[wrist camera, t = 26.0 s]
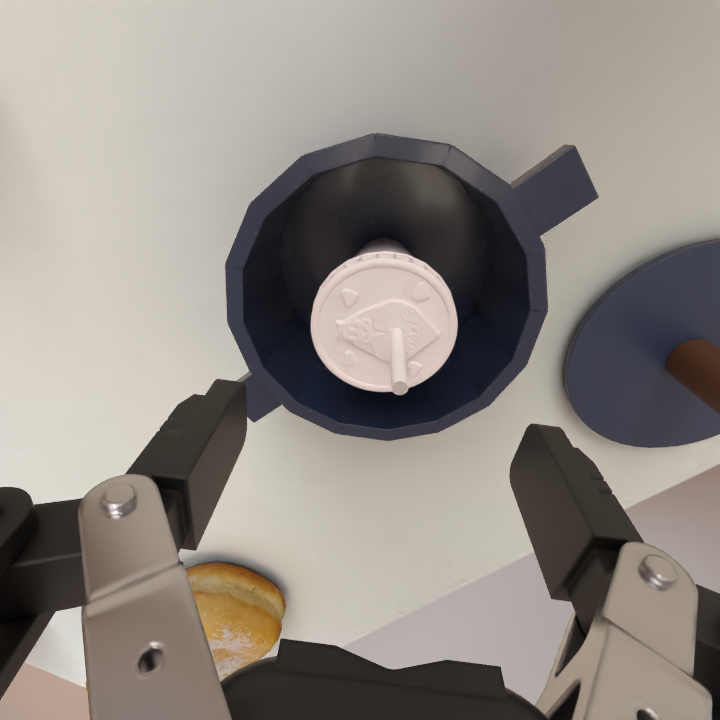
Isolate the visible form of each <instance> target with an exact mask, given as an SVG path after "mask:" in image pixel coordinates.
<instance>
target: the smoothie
mask: <svg viewBox="0 0 720 720" xmlns="http://www.w3.org/2000/svg"><path fill="white" fill-rule="evenodd" d="M457 328H458V320H457V313H456V308H455V305H454V301H453V298H452V295H451V291H450V290H449V288H448V287H447V285H446V284H445V282H444V280H443V279H442V277H441V276H440V275H439V274H438V273H437V272H436V271H434V270H433V269H432V268H431V267H430V266H429V265H427V264H426V263H425V262H423V261H421V260H419V259H416V258H414V257H413V256H412V254H411V253H410V252H409V251H408V250H407V249H406V248H405V247H404V246H403V245H402V244H401V243H399V242H398V241H396V240H393V239H389V238H379V239H375V240H372V241H370V242H368V243H367V244H366V245H364V246H363V247H362V248H361V250H360V251H359V252H358V253H357V254H356V255H355V257H354V258H352V259H349V260H347V261H346V262H344V263H343V264H342V265H340V266H339V267H337V268H336V269H335V270H333V271H332V272H331V273H330V275H329V276H328V277H327V278H326V280H325V281H324V282H323V283H322V285H321V286H320V288H319V291H318V293H317V296H316V298H315V300H314V303H313V310H312V315H311V336H312V340H313V344H314V347H315V349H316V351H317V354H318V355H319V357H320V359H321V360H322V362H323V363H324V364H325V366H326V367H327V368H328V369H329V370H330V371H331V372H332V373H333V374H334V375H336V376H337V377H338V378H340V379H341V380H343V381H344V382H346V383H348V384H350V385H352V386H355V387H358V388H360V389H364V390H369V391H376V392H392V391H393V393H395V394H397V395H403V394H405V393H406V392H407V391H408V388H410V387H413V386H415V385H417V384H419V383H421V382H423V381H425V380H426V379H428V378H429V377H431V376H432V375H433V374H434V373H436V372H437V371H438V370H439V369H440V368H441V366H442V365H443V364H444V363H445V361H446V360H447V359H448V357H449V355H450V353H451V351H452V349H453V347H454V344H455V341H456V336H457Z"/></svg>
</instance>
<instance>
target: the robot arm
mask: <svg viewBox="0 0 720 720" xmlns="http://www.w3.org/2000/svg"><path fill="white" fill-rule="evenodd" d="M246 431H247V399H246V385H245V383H243V382H236V381H229V380H221V379H217V380H215V382H214V383H213V384H212V386H211V387H210V389H209V390H208V392H207V393H206V395H205V396H204V395H197V394H194V395H192V396H191V397H189V398H188V399H186V400H184V401H183V402H181V403H180V404H178V405H177V407H176V408H175V409H174V411H173V412H172V413H171V415H170V416H169V417H168V420H166V421H165V422H164V424H163V425H162V426H161V428H160V431H159V432H157V433H156V434H155V436H154V437H153V438H152V440H151V441H150V442H149V443H148V445H147V446H146V447H145V449H144V450H143V451H142V453H141V454H140V455H139V457H138V458H137V459H136V461H135V462H134V463H133V464H132V466H131V467H130V468H129V470H128V471H127V472H126V474H125V475H120V476H116V477H113V478H110V479H108V480H106V481H104V482H102V483H100V484H98V485H97V486H95V487H94V488H93V489H91V490H90V491H89V492H88V493H87V494H86V495H85V496H84V498H81V499H75V500H68V501H60V502H52V503H44V504H36V505H34V504H33V502H32V500H31V497H30V495H29V494H28V493H27V492H26V491H24V490H22V489H19V488H14V487H0V700H1V698H2V696H3V695H4V693H5V691H6V690H7V688H8V687H9V685H10V683H11V682H12V680H13V679H14V677H15V676H16V674H17V672H18V671H19V669H20V667H21V666H22V664H23V663H24V661H25V660H26V658H27V656H28V655H29V653H30V652H31V650H32V648H33V647H34V645H35V644H36V642H37V640H38V639H39V637H40V636H41V634H42V632H43V631H44V629H45V628H46V626H47V624H48V623H49V621H50V620H51V618H52V616H53V615H54V613H55V612H56V611H59V610H64V609H69V608H74V607H79V606H82V612H81V616H82V631H83V643H84V655H85V666H86V678H87V690H88V700H89V713H90V720H720V594H719V593H717V592H714V591H712V590H709V589H707V588H704V587H702V586H699V585H697V584H695V583H694V581H693V579H692V578H691V576H690V575H689V573H688V572H687V571H686V570H685V569H684V568H683V567H682V566H681V565H680V564H679V563H678V562H677V561H676V560H675V559H673V558H672V557H671V556H670V555H668V554H667V553H665V552H664V551H662V550H660V549H658V548H656V547H654V546H652V545H649V544H646V543H644V541H643V540H642V538H641V537H640V535H639V533H638V532H637V530H636V529H635V527H634V525H633V524H632V522H631V521H630V519H629V517H628V516H627V514H626V513H625V511H624V510H623V508H622V506H621V505H620V503H619V502H618V500H617V498H616V497H615V495H612V491H611V489H610V487H609V486H608V484H607V483H606V481H604V480H603V479H604V478H603V476H602V475H601V473H600V472H599V470H598V468H597V467H596V465H595V464H594V462H593V461H592V460H590V459H589V458H588V457H587V456H586V455H585V454H584V453H583V452H582V451H581V450H579V449H578V448H574V447H573V446H572V445H571V443H570V441H569V439H568V438H567V436H566V434H565V433H564V431H563V430H562V429H561V428H560V427H554V426H547V425H540V424H530V425H529V426H528V427H527V429H526V431H525V433H524V436H523V438H522V440H521V442H520V445H519V447H518V449H517V452H516V454H515V456H514V458H513V461H512V463H511V467H510V483H511V487H512V490H513V492H514V495H515V498H516V501H517V504H518V507H519V509H520V512H521V515H522V518H523V521H524V523H525V526H526V529H527V532H528V535H529V537H530V540H531V543H532V546H533V549H534V551H535V554H536V557H537V560H538V563H539V565H540V568H541V571H542V573H543V577H544V579H545V582H546V585H547V588H548V591H549V593H550V596H551V599H556V600H564V601H571V602H572V605H573V607H574V610H575V612H574V613H573V614H572V616H571V617H570V619H569V622H568V625H567V627H566V630H565V633H564V636H563V639H562V642H561V644H560V647H559V650H558V653H557V655H556V658H555V661H554V664H553V667H552V669H551V672H550V675H549V678H548V681H547V683H546V685H545V688H544V690H543V692H542V694H541V696H540V698H539V700H538V701H537V703H536V705H535V706H534V705H532V704H531V703H530V702H529V701H527V700H526V699H524V698H523V697H522V696H520V695H518V694H516V693H515V692H513V691H511V690H510V689H508V688H505V686H504V681H503V676H502V672H501V667H498V666H490V665H483V664H475V663H466V662H459V661H452V660H444V661H438V662H433V663H428V664H423V665H417V666H412V667H408V668H402V669H396V670H392V669H387V668H385V667H382V666H380V665H378V664H376V663H373V662H371V661H369V660H366V659H364V658H362V657H360V656H357V655H355V654H353V653H351V652H348V651H346V650H344V649H342V648H340V647H337V646H335V645H327V644H319V643H312V642H304V641H296V640H288V639H281V640H280V644H279V649H278V654H277V656H274V657H269V658H265V659H262V660H259V661H256V662H253V663H250V664H248V665H246V666H244V667H242V668H240V669H238V670H236V671H235V672H233V673H232V674H230V675H228V676H227V677H225V678H224V679H223V680H221V681H220V680H219V676H218V673H217V670H216V667H215V663H214V660H213V657H212V654H211V650H210V647H209V644H208V640H207V637H206V634H205V631H204V627H203V624H202V621H201V618H200V614H199V611H198V608H197V605H196V601H195V598H194V595H193V592H192V588H191V585H190V582H189V579H188V575H187V572H186V569H185V567H184V564H183V562H180V559H179V556H178V553H179V551H180V549H188V550H195V551H196V549H197V547H198V545H199V542H200V540H201V538H202V536H203V534H204V531H205V529H206V527H207V525H208V523H209V520H210V518H211V516H212V514H213V512H214V509H215V507H216V505H217V503H218V501H219V498H220V496H221V494H222V492H223V490H224V487H225V485H226V483H227V481H228V478H229V476H230V474H231V472H232V470H233V467H234V465H235V463H236V461H237V459H238V456H239V454H240V452H241V450H242V447H243V445H244V441H245V437H246Z"/></svg>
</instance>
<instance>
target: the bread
mask: <svg viewBox="0 0 720 720" xmlns="http://www.w3.org/2000/svg"><path fill="white" fill-rule="evenodd" d="M186 572H187V575H188V579H189V582H190V585H191V588H192V592H193V595H194V598H195V601H196V605H197V608H198V611H199V614H200V618H201V621H202V624H203V627H204V631H205V634H206V637H207V640H208V644H209V647H210V650H211V654H212V657H213V660H214V663H215V667H216V670H217V673H218V676H219V680H220V681H221V680H223V679H224V678H225V677H227V676H228V675H230V674H232V673H233V672H235V671H236V670H238V669H240V668H242V667H244V666H246V665H248V664H250V663H253V662H256V661H259V660H260V659H261V657H263V656H264V655H265V654H266V653H268V652H269V651H270V650H271V648H272V647H273V646H274V644H275V643H276V642H277V640H278V638H279V636H280V633H281V630H282V622H281V620H282V619H283V617H284V613H285V608H286V604H285V599H284V597H283V594H282V593H281V591H280V589H279V588H278V587H277V586H276V585H275V584H274V583H272V582H271V581H269V580H267V579H266V578H264V577H263V576H261V575H260V574H258V573H257V572H255V571H253V570H250V569H248V568H246V567H244V566H240V565H237V564H233V563H225V562H212V563H205V564H199V565H195V566H193V567H191V568H189V569H186ZM86 690H87V681H86ZM87 691H88V690H87Z"/></svg>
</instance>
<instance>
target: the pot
mask: <svg viewBox="0 0 720 720" xmlns="http://www.w3.org/2000/svg"><path fill="white" fill-rule="evenodd" d="M597 198H598V194H597V192H596V190H595V188H594V186H593V183H592V181H591V179H590V177H589V175H588V173H587V170H586V168H585V166H584V164H583V162H582V160H581V157H580V155H579V153H578V151H577V149H576V146H575V145H563V146H562V147H561V148H559V149H558V150H557V151H555V152H554V153H552V154H551V155H550V156H548V157H547V158H545V159H544V160H543V161H541V162H540V163H538V164H537V165H536V166H534V167H533V168H531V169H530V170H529V171H527V172H526V173H525V174H523V175H522V176H520V177H519V178H518V179H516V180H515V181H513V182H512V183H511V184H508V183H506V182H505V181H504V180H502V179H501V178H499V177H498V176H496V175H495V174H493V173H492V172H491V171H489V170H488V169H486V168H485V167H483V166H482V165H481V164H479V163H478V162H476V161H475V160H473V159H472V158H470V157H469V156H468V155H466V154H465V153H463V152H462V151H460V150H459V149H457V148H456V147H455V146H453V145H450V144H446V143H439V142H433V141H426V140H419V139H413V138H406V137H399V136H393V135H386V134H379V133H376V134H370V135H367V136H363V137H360V138H357V139H354V140H350V141H347V142H344V143H341V144H337V145H334V146H331V147H328V148H324V149H321V150H318V151H315V152H311V153H308V154H305V155H304V156H301V157H300V158H299V159H298V160H297V161H296V162H294V163H293V164H292V165H291V166H290V167H289V168H288V169H287V170H286V171H285V172H284V173H282V174H281V175H280V176H279V177H278V178H277V179H276V180H275V181H274V182H273V183H272V184H271V185H269V186H268V187H267V188H266V189H265V190H264V191H263V192H262V193H261V194H260V195H259V196H257V197H256V198H255V199H254V200H253V201H252V202H251V203H250V205H249V207H248V209H247V212H246V214H245V216H244V219H243V221H242V224H241V226H240V229H239V231H238V234H237V236H236V239H235V241H234V243H233V246H232V248H231V251H230V253H229V256H228V258H227V261H226V265H225V270H226V297H227V322H228V325H229V327H230V329H231V332H232V334H233V336H234V338H235V340H236V342H237V345H238V347H239V349H240V351H241V353H242V355H243V358H244V360H245V362H246V364H247V366H248V368H249V372H248V373H247V374H245V375H244V376H242V377H241V378H240V379H238V380H237V381H236V382H243V383H245V385H246V399H247V417H248V418H249V419H250V420H251V421H252V422H256V421H257V420H259V419H261V418H262V417H264V416H265V415H267V414H268V413H270V412H271V411H273V410H274V409H276V408H277V407H279V406H280V405H283V406H284V407H285V408H286V409H287V410H289V412H291V413H293V414H295V415H298V416H300V417H302V418H304V419H306V420H308V421H310V422H312V423H314V424H316V425H318V426H320V427H323V428H325V429H327V430H329V431H331V432H333V433H335V434H336V433H337V434H341V435H348V436H356V437H363V438H370V439H378V440H385V441H387V440H388V441H391V440H397V439H403V438H409V437H414V436H420V435H426V434H432V433H438V432H440V431H442V430H444V429H446V428H448V427H450V426H452V425H454V424H456V423H458V422H460V421H461V420H463V419H465V418H467V417H469V416H471V415H473V414H475V413H477V412H479V411H480V410H482V409H484V408H486V407H487V406H489V405H490V404H491V403H492V402H493V401H494V400H495V399H496V398H497V397H498V396H499V395H500V393H501V392H502V391H503V390H504V389H505V388H506V387H507V386H508V385H509V384H510V383H511V382H512V381H513V379H514V378H515V377H516V376H517V375H518V374H519V373H520V372H521V371H522V370H523V369H524V368H525V366H526V365H527V363H528V360H529V358H530V355H531V353H532V350H533V348H534V345H535V342H536V340H537V337H538V335H539V332H540V330H541V327H542V324H543V322H544V319H545V317H546V314H547V312H548V300H547V279H546V258H545V248H544V244H543V242H542V240H541V238H540V237H539V236H541V235H542V234H544V233H545V232H547V231H548V230H550V229H551V228H553V227H554V226H556V225H557V224H559V223H561V222H562V221H564V220H565V219H567V218H568V217H570V216H571V215H573V214H574V213H576V212H577V211H579V210H580V209H582V208H583V207H585V206H587V205H588V204H590V203H591V202H593V201H594V200H596V199H597ZM379 238H389V239H393V240H396V241H398V242H399V243H401V244H402V245H403V246H404V247H405V248H406V249H407V250H408V251H409V252H410V253H411V254H412V256H413V257H414V258H416V259H419V260H421V261H423V262H425V263H426V264H427V265H429V266H430V267H431V268H432V269H433V270H434V271H436V272H437V273H438V274H439V275H440V276H441V277H442V279H443V280H444V282H445V284H446V285H447V287H448V288H449V290H450V291H451V295H452V298H453V301H454V305H455V308H456V313H457V320H458V328H457V336H456V341H455V344H454V347H453V349H452V351H451V353H450V355H449V357H448V359H447V360H446V361H445V363H444V364H443V365H442V366H441V368H440V369H439V370H438V371H437V372H436V373H434V374H433V375H432V376H431V377H429V378H428V379H426V380H425V381H423V382H421V383H419V384H417V385H415V386H413V387H410V388H408V391H407V392H406V393H405V394H403V395H397V394H395V393H393V391H392V392H376V391H369V390H364V389H360V388H358V387H355V386H352V385H350V384H348V383H346V382H344V381H343V380H341V379H340V378H338V377H337V376H336V375H334V374H333V373H332V372H331V371H330V370H329V369H328V368H327V367H326V366H325V364H324V363H323V362H322V360H321V359H320V357H319V355H318V354H317V351H316V349H315V347H314V344H313V340H312V336H311V315H312V310H313V303H314V300H315V298H316V296H317V293H318V291H319V288H320V286H321V285H322V283H323V282H324V281H325V280H326V278H327V277H328V276H329V275H330V273H331V272H332V271H333V270H335V269H336V268H337V267H339V266H340V265H342V264H343V263H344V262H346V261H347V260H349V259H352V258H354V257H355V255H356V254H357V253H358V252H359V251H360V250H361V248H362V247H363V246H364V245H366V244H367V243H368V242H370V241H372V240H375V239H379Z"/></svg>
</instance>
